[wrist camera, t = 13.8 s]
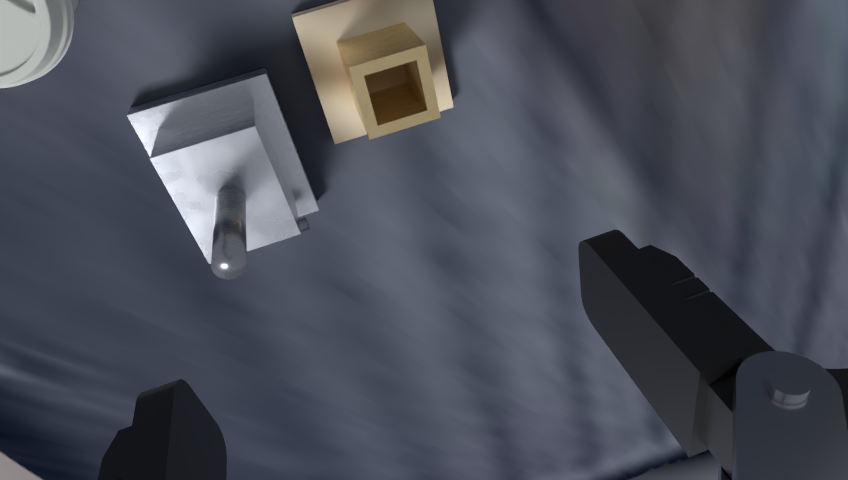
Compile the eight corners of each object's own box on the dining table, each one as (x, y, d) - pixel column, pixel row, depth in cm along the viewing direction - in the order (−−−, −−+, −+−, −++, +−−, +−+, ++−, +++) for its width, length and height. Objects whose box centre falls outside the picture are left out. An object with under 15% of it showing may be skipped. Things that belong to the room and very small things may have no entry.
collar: (336, 42, 42) (348, 67, 37) (404, 21, 42) (425, 44, 37) (355, 108, 45) (369, 139, 40) (419, 88, 45) (440, 117, 41)
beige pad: (290, 14, 41) (291, 17, 40) (424, -25, 42) (428, -23, 41) (333, 139, 47) (334, 144, 46) (449, 102, 48) (453, 107, 47)
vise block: (130, 107, 42) (87, 209, 30) (265, 67, 42) (275, 150, 31) (202, 238, 49) (190, 361, 37) (317, 201, 50) (340, 310, 38)
